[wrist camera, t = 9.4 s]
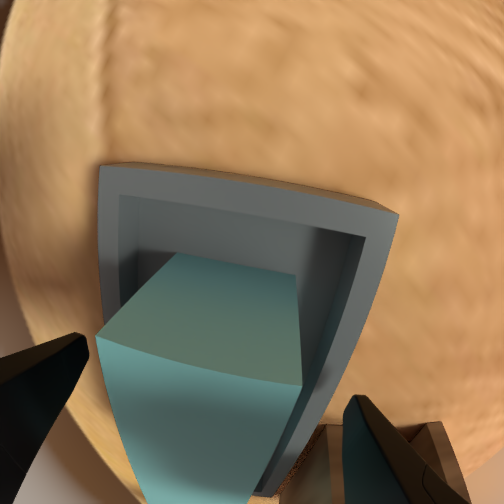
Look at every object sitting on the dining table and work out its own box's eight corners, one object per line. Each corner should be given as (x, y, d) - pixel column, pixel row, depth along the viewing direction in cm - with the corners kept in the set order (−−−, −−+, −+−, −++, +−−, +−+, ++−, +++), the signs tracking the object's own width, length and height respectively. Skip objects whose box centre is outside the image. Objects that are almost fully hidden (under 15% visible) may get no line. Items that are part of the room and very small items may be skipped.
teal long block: (243, 458, 13) (230, 530, 9) (176, 443, 14) (151, 511, 9) (295, 275, 9) (302, 386, 5) (177, 252, 10) (95, 335, 5)
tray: (273, 471, 15) (271, 497, 13) (149, 444, 15) (138, 467, 13) (375, 201, 9) (399, 215, 7) (133, 162, 9) (99, 165, 7)
